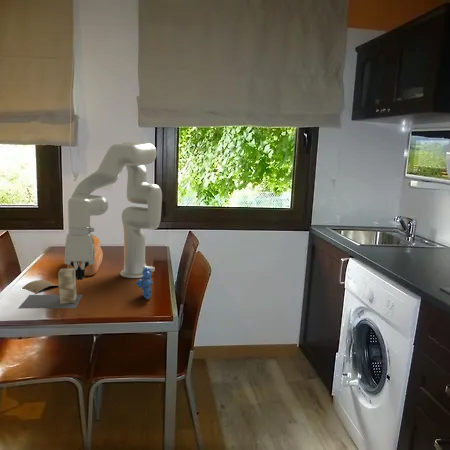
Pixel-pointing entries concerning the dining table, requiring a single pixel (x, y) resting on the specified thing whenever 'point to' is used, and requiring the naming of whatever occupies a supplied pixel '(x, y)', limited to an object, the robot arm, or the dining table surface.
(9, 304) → the dining table surface
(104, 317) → the dining table surface
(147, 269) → the grapes
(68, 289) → the birch block
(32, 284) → the clay tablet
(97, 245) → the bread
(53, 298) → the rubber mat
